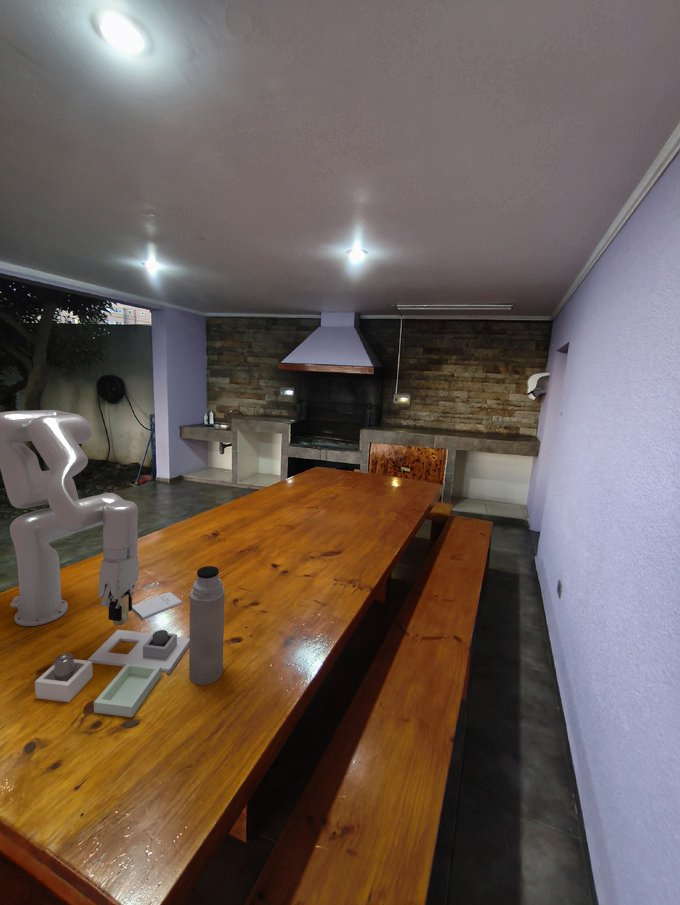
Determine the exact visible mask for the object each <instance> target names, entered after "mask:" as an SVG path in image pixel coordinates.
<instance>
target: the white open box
mask: <svg viewBox="0 0 680 905" xmlns="http://www.w3.org/2000/svg"><path fill="white" fill-rule="evenodd" d="M93 675H94V674H93V663H92V661H88V660H84V659H77V658H74V675H73V676H72V677H71V678H70V679H69V680H68V681H67V682H65V681H57V680H55V669H54V664H53V665H51V666H50V667H49V668H48V669H47V670H46V671H45V672H44V673H42V674H41V676H39V677H38V678H37V679H36V680H35V681H34V690H35V699H42V700H49V701H55V702H56V701H57V702H63V703H70V701H71V700H73V698H74V697H75V696H76V695H77V694H78V693H79V692H80V691H81V690H83V689H84V688H83V687H85V686H86V684H88V683H89V681H90V680H92V678H93Z"/></svg>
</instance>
